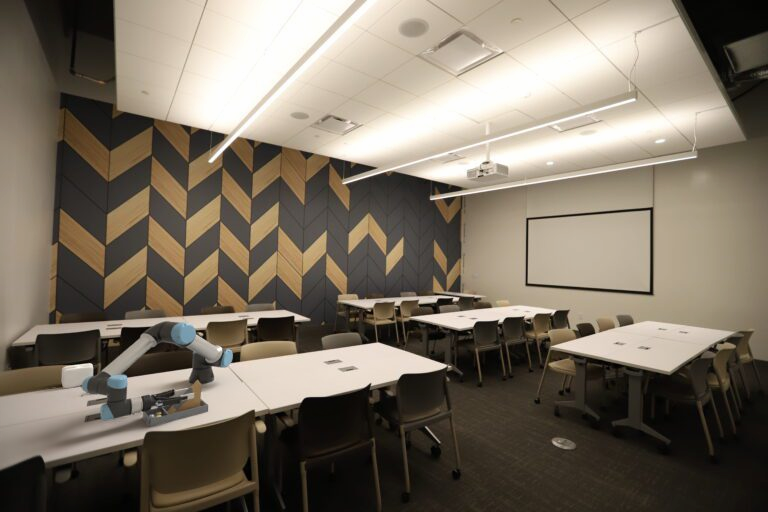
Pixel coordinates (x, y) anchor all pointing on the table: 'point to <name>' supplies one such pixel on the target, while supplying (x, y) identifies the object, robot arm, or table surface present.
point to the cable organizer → (75, 374)
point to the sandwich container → (190, 402)
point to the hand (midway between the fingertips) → (190, 392)
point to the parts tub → (162, 416)
